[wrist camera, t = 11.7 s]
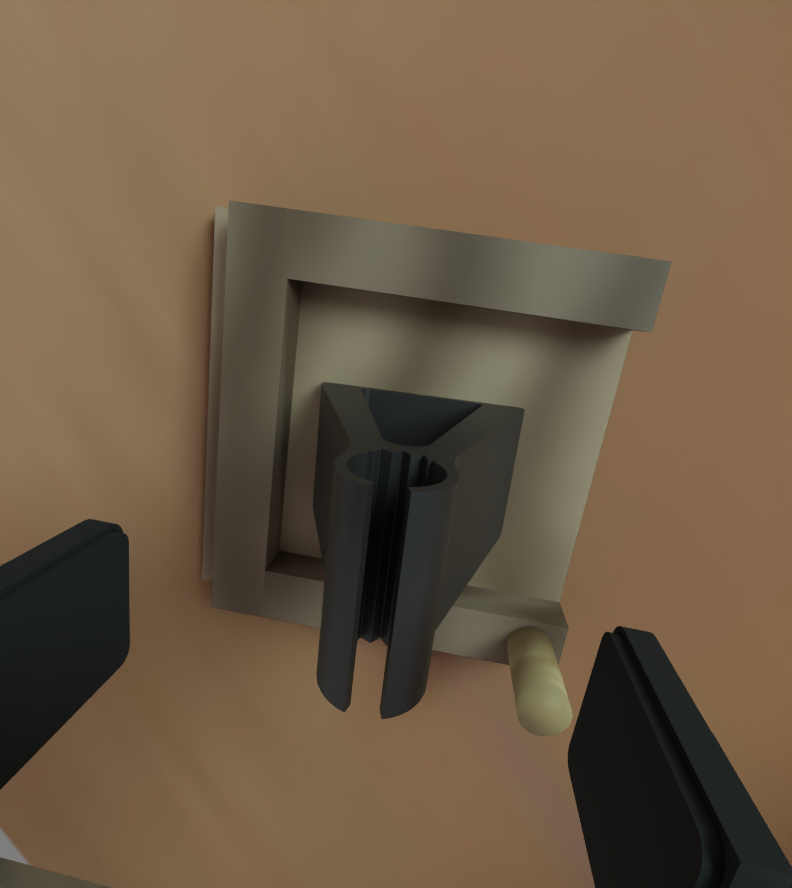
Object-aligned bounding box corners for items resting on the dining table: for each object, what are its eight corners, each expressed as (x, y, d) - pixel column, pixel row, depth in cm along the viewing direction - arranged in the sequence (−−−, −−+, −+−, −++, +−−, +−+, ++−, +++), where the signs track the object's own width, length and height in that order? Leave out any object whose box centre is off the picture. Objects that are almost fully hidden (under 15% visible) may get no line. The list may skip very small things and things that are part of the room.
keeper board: (640, 268, 20) (732, 248, 14) (543, 632, 25) (577, 748, 19) (225, 210, 22) (124, 165, 15) (210, 569, 27) (129, 657, 20)
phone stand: (314, 502, 24) (185, 683, 12) (324, 380, 22) (186, 455, 11) (500, 531, 23) (548, 751, 12) (524, 407, 21) (608, 521, 10)
